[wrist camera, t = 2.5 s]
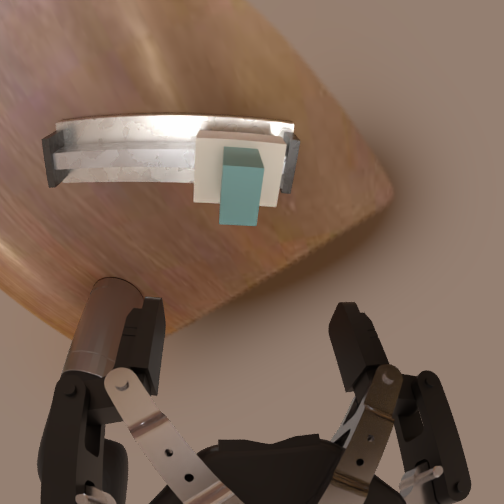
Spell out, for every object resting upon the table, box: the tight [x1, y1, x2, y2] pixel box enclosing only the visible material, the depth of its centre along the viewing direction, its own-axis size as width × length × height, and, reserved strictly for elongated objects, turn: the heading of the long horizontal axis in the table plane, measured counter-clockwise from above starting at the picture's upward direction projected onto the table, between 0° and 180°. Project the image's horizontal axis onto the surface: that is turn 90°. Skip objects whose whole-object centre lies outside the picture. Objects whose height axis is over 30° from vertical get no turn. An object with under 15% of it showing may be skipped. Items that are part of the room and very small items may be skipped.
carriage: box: [194, 130, 287, 226], centre depth 27 cm, size 8×6×11 cm
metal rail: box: [42, 113, 300, 194], centre depth 30 cm, size 28×8×5 cm, turn 83°
